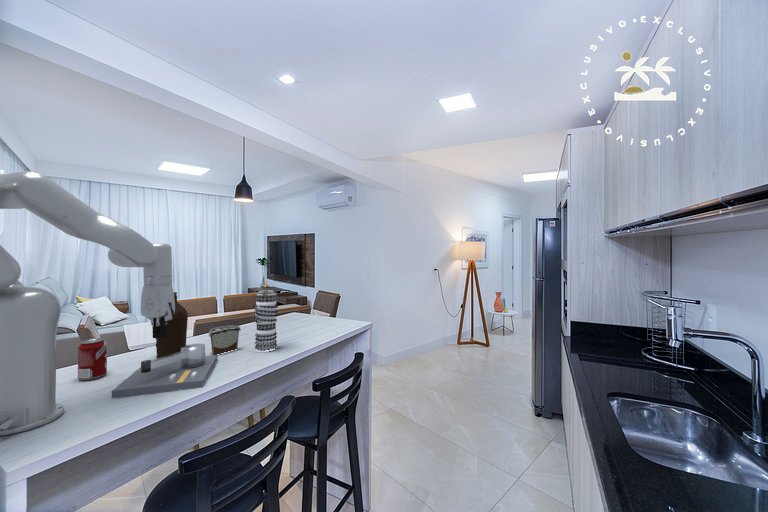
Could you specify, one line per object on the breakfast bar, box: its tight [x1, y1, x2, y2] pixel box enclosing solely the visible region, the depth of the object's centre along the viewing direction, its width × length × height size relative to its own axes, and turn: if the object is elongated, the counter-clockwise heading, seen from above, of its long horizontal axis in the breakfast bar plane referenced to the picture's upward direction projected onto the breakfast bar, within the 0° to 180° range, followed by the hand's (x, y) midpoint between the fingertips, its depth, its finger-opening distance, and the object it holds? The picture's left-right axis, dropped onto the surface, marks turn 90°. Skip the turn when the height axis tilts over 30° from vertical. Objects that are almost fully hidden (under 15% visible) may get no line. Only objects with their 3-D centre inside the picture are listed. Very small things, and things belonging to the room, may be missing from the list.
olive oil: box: [155, 291, 189, 359], centre depth 120 cm, size 11×11×25 cm
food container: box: [208, 325, 241, 356], centre depth 125 cm, size 12×6×10 cm, turn 144°
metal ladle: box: [140, 343, 206, 373], centre depth 98 cm, size 20×7×6 cm, turn 160°
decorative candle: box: [254, 289, 279, 351], centre depth 128 cm, size 9×9×25 cm
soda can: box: [77, 337, 108, 381], centre depth 98 cm, size 7×7×12 cm
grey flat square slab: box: [111, 355, 218, 399], centre depth 99 cm, size 25×22×3 cm
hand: (159, 337), depth 99 cm, fingers closed
